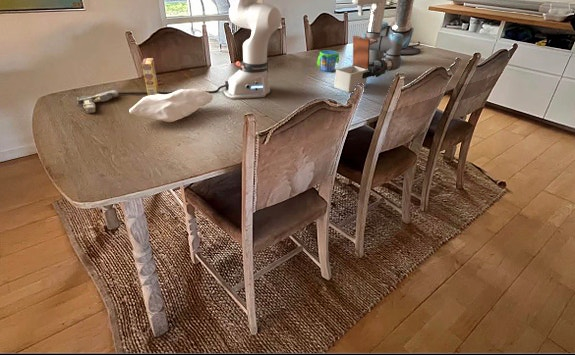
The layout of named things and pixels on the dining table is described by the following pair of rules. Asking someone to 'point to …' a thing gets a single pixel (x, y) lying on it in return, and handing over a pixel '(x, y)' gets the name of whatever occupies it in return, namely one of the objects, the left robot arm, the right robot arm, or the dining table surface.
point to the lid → (362, 50)
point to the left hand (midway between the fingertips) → (366, 14)
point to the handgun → (95, 100)
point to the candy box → (150, 76)
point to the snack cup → (328, 60)
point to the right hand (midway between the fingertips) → (355, 73)
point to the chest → (349, 78)
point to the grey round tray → (409, 50)
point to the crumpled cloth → (171, 104)
